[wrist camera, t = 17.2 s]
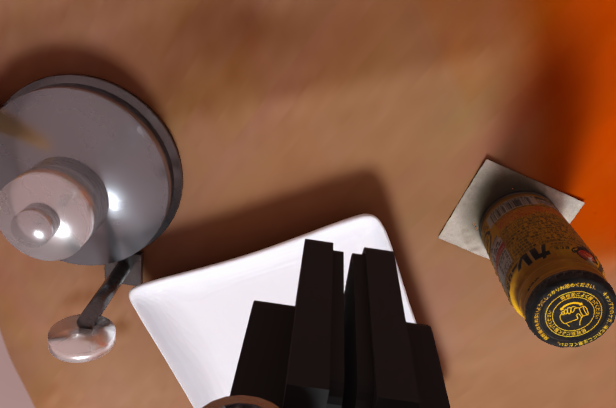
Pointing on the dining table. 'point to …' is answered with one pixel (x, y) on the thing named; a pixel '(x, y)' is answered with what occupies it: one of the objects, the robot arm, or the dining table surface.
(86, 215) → the cover
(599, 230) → the dining table surface
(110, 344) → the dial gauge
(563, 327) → the condiment
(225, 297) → the salad plate
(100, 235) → the turntable
